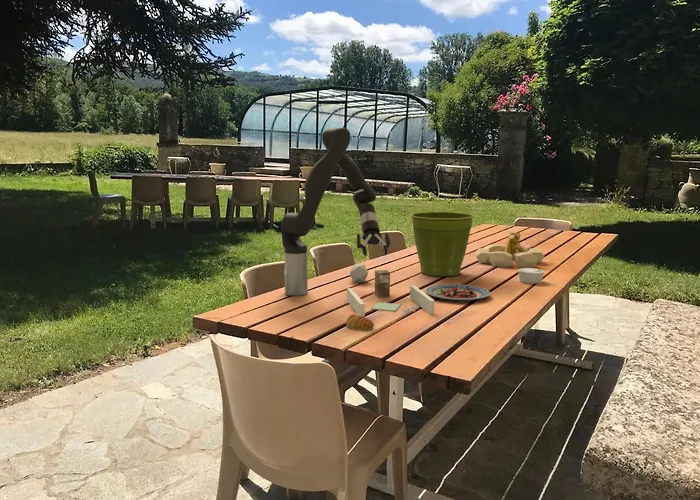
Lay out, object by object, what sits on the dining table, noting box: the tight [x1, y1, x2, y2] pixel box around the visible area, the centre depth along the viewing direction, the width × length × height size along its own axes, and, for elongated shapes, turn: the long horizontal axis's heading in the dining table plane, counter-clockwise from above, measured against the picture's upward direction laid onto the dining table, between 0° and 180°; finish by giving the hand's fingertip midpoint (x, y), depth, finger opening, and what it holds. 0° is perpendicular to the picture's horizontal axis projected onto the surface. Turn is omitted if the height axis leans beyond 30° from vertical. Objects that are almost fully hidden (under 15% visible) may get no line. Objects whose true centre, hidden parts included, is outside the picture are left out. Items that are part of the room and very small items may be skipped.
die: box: [349, 264, 369, 283], centre depth 247 cm, size 8×9×10 cm
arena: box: [346, 285, 436, 318], centre depth 204 cm, size 27×24×5 cm
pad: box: [371, 302, 402, 312], centre depth 204 cm, size 9×9×1 cm
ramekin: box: [517, 267, 545, 285], centre depth 248 cm, size 11×11×5 cm
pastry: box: [345, 313, 375, 331], centre depth 179 cm, size 9×7×4 cm
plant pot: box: [410, 211, 474, 277], centre depth 264 cm, size 30×30×29 cm
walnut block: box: [374, 269, 391, 298], centre depth 221 cm, size 5×5×10 cm
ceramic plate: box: [425, 283, 491, 302], centre depth 221 cm, size 26×26×3 cm
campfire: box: [474, 232, 545, 269], centre depth 294 cm, size 35×34×17 cm
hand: (375, 254), depth 231 cm, fingers open, 8 cm apart
